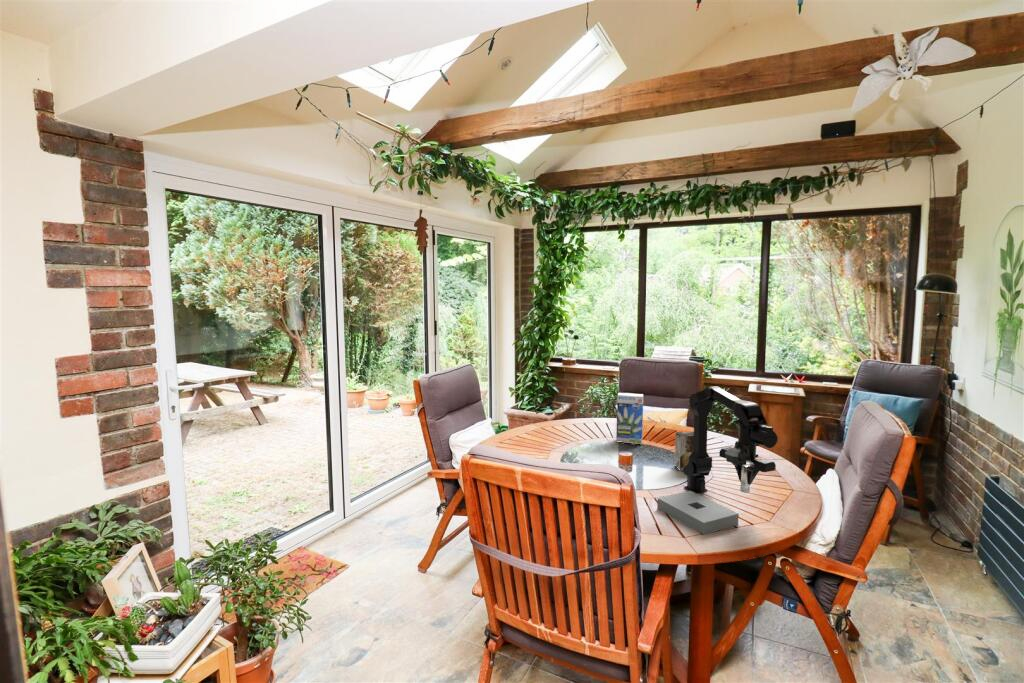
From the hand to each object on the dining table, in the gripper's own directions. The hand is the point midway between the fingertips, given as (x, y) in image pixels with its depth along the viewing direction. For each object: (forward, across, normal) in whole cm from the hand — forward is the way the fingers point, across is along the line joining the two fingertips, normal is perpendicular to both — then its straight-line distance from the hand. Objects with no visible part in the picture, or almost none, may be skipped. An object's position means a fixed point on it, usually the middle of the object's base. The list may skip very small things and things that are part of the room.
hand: (745, 482), depth 175 cm
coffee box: (+13, -46, +19) cm, 52 cm away
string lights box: (+14, -89, +22) cm, 93 cm away
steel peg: (+3, 0, 0) cm, 3 cm away
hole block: (+13, -8, -14) cm, 21 cm away
